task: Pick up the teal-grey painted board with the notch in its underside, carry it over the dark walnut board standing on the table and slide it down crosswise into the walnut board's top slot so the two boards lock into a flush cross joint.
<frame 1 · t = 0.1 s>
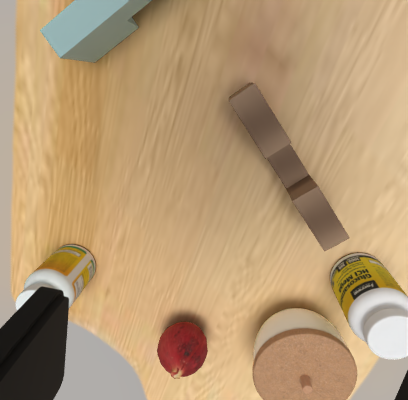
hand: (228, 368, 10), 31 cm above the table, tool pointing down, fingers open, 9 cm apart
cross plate: (149, 1, 36), on the table
onion: (186, 327, 47), on the table
slotted stand: (280, 154, 39), on the table
pill bottle: (355, 274, 43), on the table
supplement bottle: (75, 261, 45), on the table
lidded jar: (292, 328, 46), on the table
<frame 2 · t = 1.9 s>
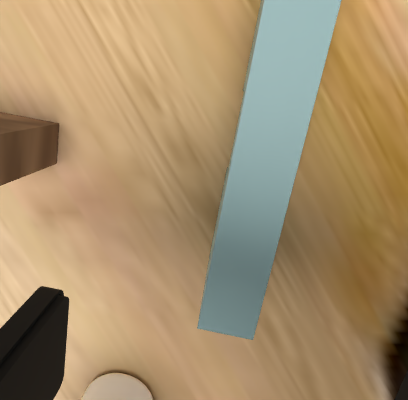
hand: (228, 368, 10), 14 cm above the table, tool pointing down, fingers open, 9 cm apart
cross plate: (255, 134, 22), on the table
drinking glass: (122, 395, 28), on the table
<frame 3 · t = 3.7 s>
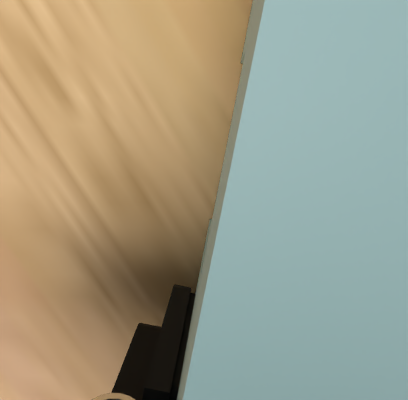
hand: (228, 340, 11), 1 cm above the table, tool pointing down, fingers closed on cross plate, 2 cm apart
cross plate: (267, 154, 10), on the table, touching gripper
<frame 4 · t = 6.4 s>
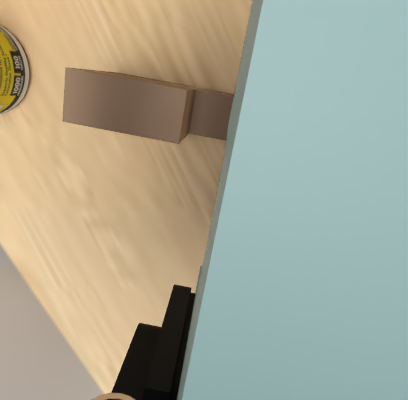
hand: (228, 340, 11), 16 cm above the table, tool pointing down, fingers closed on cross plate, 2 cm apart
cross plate: (254, 207, 11), point 15 cm above the table, touching gripper
slotted stand: (231, 113, 25), on the table
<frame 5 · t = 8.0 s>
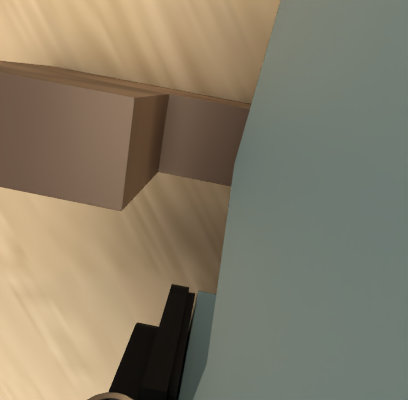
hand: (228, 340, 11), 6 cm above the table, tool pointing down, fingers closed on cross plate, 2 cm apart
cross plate: (262, 248, 9), point 7 cm above the table, tilted 22°, touching gripper, slotted stand
slotted stand: (234, 132, 15), on the table
when the fingers open (3 cm above the table, at t = 9.0 s): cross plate drops 6 cm, resting on slotted stand.
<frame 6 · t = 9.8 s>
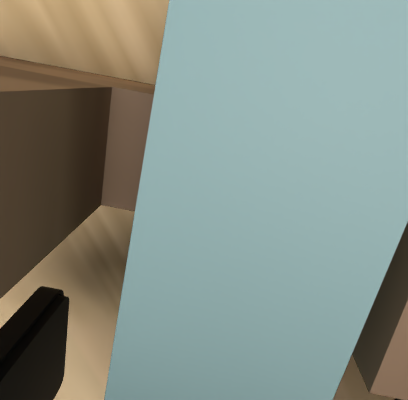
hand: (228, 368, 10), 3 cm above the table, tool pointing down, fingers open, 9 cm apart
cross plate: (265, 148, 11), on the table, tilted 6°, touching slotted stand
slotted stand: (219, 140, 11), on the table
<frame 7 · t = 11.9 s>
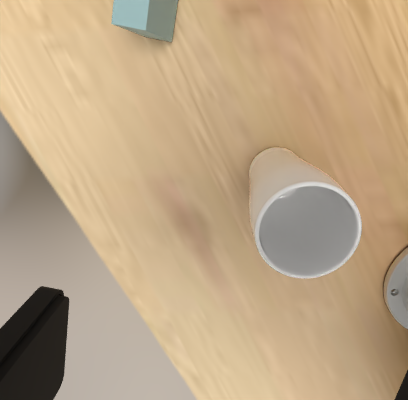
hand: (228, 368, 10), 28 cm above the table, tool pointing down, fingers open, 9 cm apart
drinking glass: (274, 171, 37), on the table
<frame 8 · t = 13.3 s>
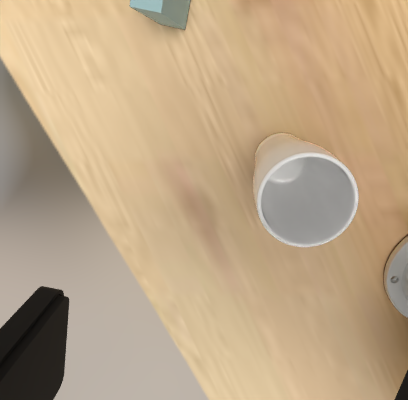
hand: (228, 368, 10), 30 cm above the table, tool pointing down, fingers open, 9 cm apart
drinking glass: (279, 157, 39), on the table
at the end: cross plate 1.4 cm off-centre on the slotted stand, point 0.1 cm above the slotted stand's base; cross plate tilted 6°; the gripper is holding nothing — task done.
